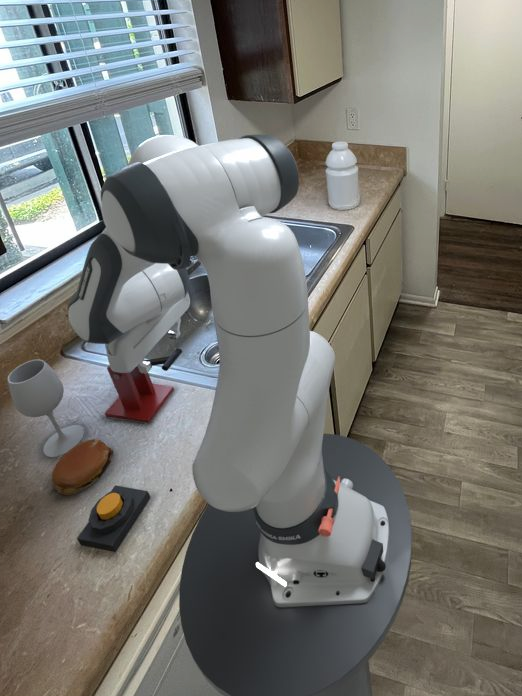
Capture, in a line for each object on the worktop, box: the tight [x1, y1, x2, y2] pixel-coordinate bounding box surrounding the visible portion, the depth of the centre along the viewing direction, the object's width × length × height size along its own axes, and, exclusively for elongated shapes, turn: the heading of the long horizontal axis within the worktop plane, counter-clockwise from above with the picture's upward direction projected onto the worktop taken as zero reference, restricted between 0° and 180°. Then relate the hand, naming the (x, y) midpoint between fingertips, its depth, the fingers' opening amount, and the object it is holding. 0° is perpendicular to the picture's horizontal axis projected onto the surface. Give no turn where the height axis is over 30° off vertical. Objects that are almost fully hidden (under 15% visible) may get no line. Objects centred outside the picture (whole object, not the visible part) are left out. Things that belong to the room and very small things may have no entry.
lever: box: [130, 347, 183, 373], centre depth 96 cm, size 15×5×2 cm, turn 80°
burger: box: [51, 438, 114, 496], centre depth 87 cm, size 10×9×5 cm
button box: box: [76, 484, 151, 553], centre depth 79 cm, size 7×9×4 cm
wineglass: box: [7, 359, 85, 458], centre depth 90 cm, size 8×8×21 cm
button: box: [97, 493, 123, 520], centre depth 78 cm, size 4×4×2 cm
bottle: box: [324, 140, 361, 211], centre depth 187 cm, size 14×14×28 cm
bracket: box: [104, 364, 175, 424], centre depth 100 cm, size 11×9×14 cm
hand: (161, 353), depth 93 cm, fingers open, 8 cm apart
